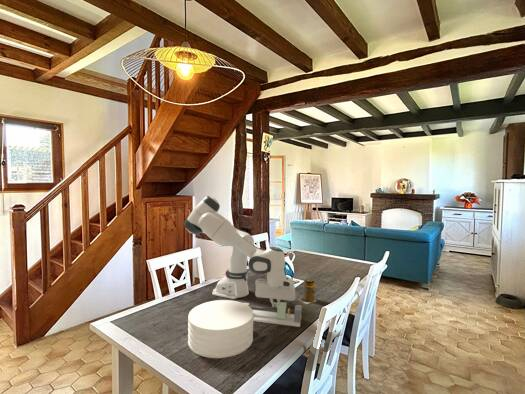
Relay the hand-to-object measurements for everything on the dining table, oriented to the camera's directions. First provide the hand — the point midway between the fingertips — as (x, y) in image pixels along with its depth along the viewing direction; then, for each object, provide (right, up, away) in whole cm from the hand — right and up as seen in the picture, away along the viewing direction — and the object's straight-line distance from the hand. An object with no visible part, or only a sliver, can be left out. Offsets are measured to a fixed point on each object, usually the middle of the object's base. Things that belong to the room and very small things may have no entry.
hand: (275, 306), depth 142 cm
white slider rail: (-2, -6, +1) cm, 7 cm away
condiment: (+20, -6, +24) cm, 32 cm away
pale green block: (+3, -5, 0) cm, 6 cm away
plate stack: (-25, -7, -18) cm, 31 cm away
